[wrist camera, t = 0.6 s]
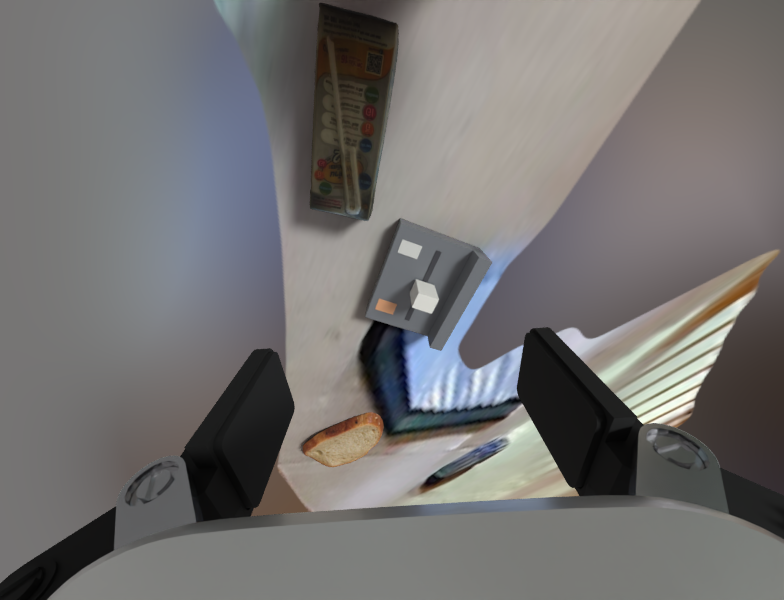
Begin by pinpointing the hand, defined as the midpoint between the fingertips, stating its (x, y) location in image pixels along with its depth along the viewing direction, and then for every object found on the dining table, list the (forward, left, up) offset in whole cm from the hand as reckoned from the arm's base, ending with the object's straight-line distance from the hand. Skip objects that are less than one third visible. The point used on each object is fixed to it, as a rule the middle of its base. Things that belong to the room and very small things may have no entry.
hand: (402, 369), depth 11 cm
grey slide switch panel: (+9, +8, -33) cm, 35 cm away
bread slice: (+52, +7, -33) cm, 62 cm away
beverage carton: (-7, -8, -33) cm, 35 cm away
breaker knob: (+9, +8, -29) cm, 32 cm away
